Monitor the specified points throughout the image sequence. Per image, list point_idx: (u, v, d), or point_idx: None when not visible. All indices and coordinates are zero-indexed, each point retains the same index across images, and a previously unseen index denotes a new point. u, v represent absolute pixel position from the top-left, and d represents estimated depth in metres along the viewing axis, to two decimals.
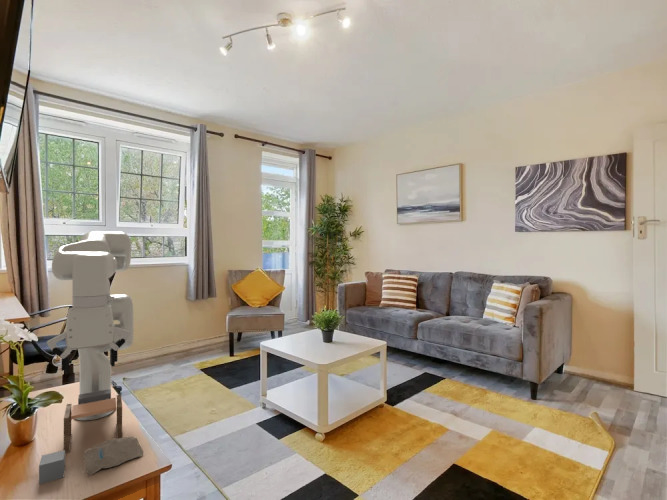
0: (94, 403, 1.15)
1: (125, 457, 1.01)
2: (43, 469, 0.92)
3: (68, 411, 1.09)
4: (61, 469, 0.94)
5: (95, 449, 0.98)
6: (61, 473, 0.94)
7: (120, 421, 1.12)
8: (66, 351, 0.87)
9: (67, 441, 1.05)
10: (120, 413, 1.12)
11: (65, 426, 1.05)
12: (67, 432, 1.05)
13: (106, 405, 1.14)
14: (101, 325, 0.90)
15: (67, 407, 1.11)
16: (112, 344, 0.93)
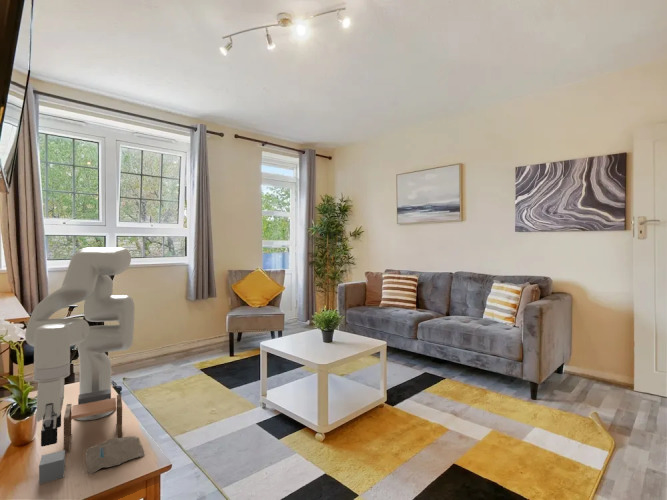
0: (94, 403, 1.15)
1: (126, 457, 1.02)
2: (43, 469, 0.92)
3: (68, 411, 1.09)
4: (61, 469, 0.94)
5: (96, 448, 0.99)
6: (61, 473, 0.94)
7: (120, 421, 1.12)
8: (56, 421, 0.91)
9: (67, 441, 1.05)
10: (120, 413, 1.12)
11: (65, 426, 1.05)
12: (67, 432, 1.05)
13: (106, 405, 1.14)
14: None
15: (67, 407, 1.11)
16: None
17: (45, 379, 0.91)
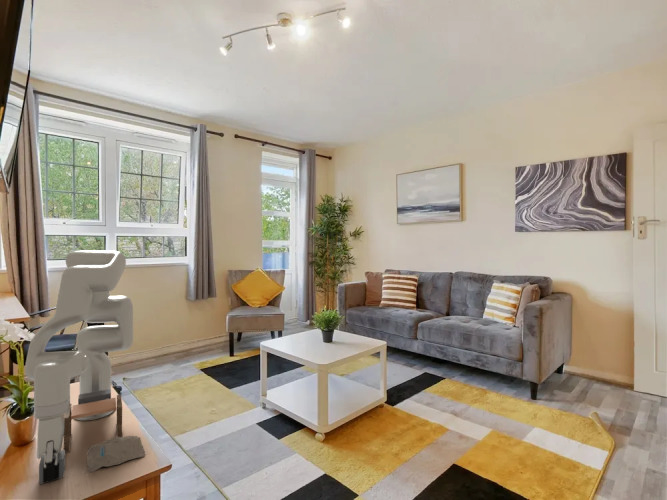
0: (94, 403, 1.15)
1: (126, 456, 1.02)
2: None
3: (68, 411, 1.09)
4: (61, 468, 0.94)
5: (98, 446, 1.00)
6: (61, 473, 0.94)
7: (120, 421, 1.12)
8: (57, 458, 0.93)
9: (67, 441, 1.05)
10: (120, 413, 1.12)
11: (65, 426, 1.05)
12: (67, 432, 1.05)
13: (106, 405, 1.14)
14: (64, 422, 0.98)
15: None
16: None
17: (45, 416, 0.91)
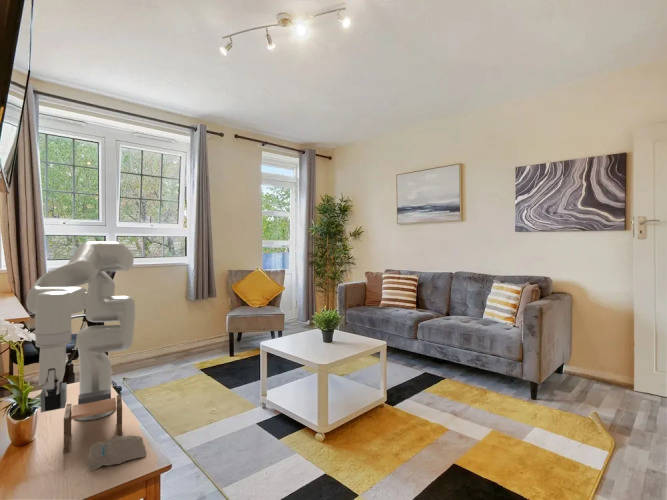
0: (94, 403, 1.15)
1: (127, 456, 1.02)
2: None
3: (68, 411, 1.09)
4: (62, 399, 0.94)
5: (99, 445, 1.00)
6: (63, 403, 0.94)
7: (120, 421, 1.12)
8: None
9: (67, 441, 1.05)
10: (120, 413, 1.12)
11: (65, 426, 1.05)
12: (67, 432, 1.05)
13: (106, 405, 1.14)
14: None
15: (67, 407, 1.11)
16: None
17: (47, 345, 0.91)
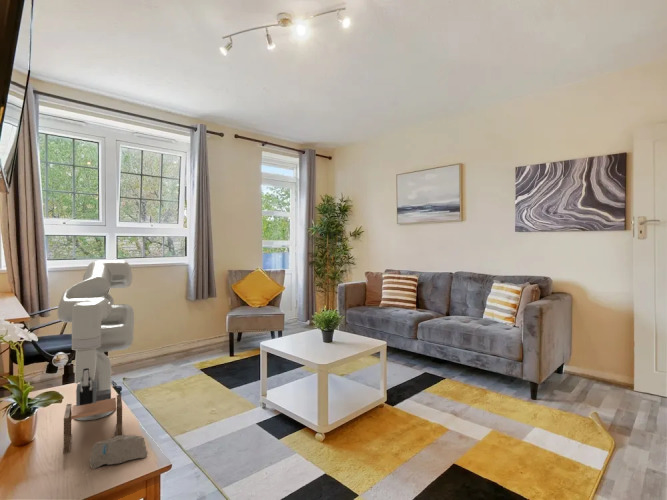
0: (94, 403, 1.15)
1: (128, 456, 1.02)
2: (79, 393, 1.07)
3: (68, 411, 1.09)
4: (94, 394, 1.09)
5: (101, 444, 1.01)
6: (94, 398, 1.10)
7: (120, 421, 1.12)
8: (91, 384, 1.08)
9: (67, 441, 1.05)
10: (120, 413, 1.12)
11: (65, 426, 1.05)
12: (67, 432, 1.05)
13: (106, 405, 1.14)
14: None
15: (67, 407, 1.11)
16: None
17: (82, 348, 1.06)
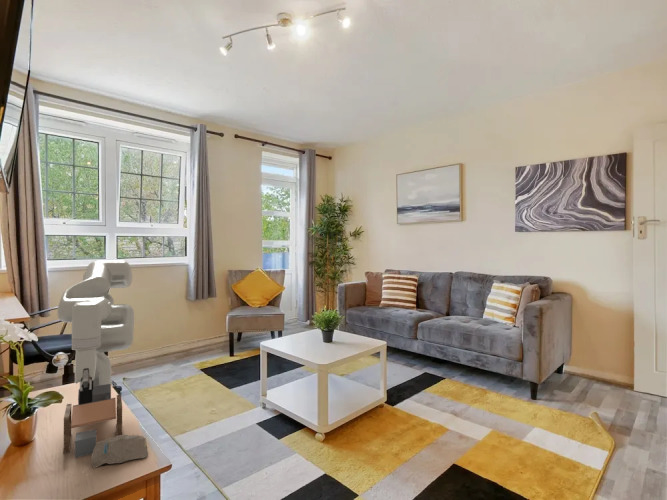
0: (94, 405, 1.15)
1: (128, 456, 1.02)
2: None
3: (68, 411, 1.09)
4: None
5: (103, 443, 1.02)
6: None
7: (120, 421, 1.12)
8: (91, 383, 1.07)
9: (67, 441, 1.05)
10: (120, 413, 1.12)
11: (65, 426, 1.05)
12: (67, 432, 1.05)
13: (106, 412, 1.14)
14: None
15: (67, 407, 1.11)
16: None
17: (82, 348, 1.06)
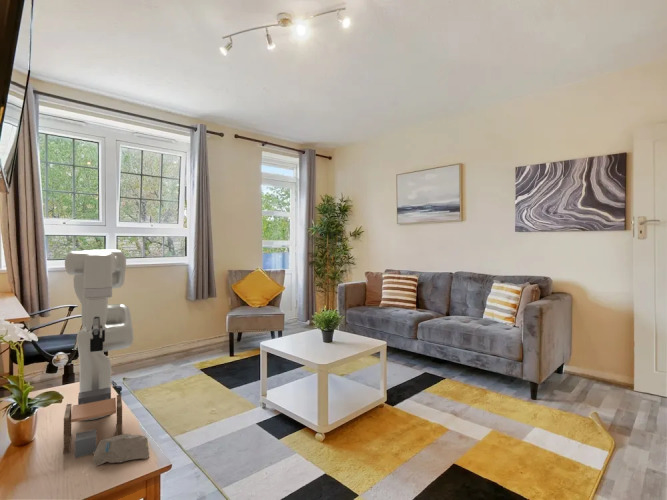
0: (94, 404, 1.15)
1: (130, 455, 1.02)
2: None
3: (68, 411, 1.09)
4: None
5: (106, 441, 1.02)
6: None
7: (120, 421, 1.12)
8: (101, 332, 1.09)
9: (67, 441, 1.05)
10: (120, 413, 1.12)
11: (65, 426, 1.05)
12: (67, 432, 1.05)
13: (106, 407, 1.14)
14: None
15: (67, 407, 1.11)
16: None
17: (93, 297, 1.08)
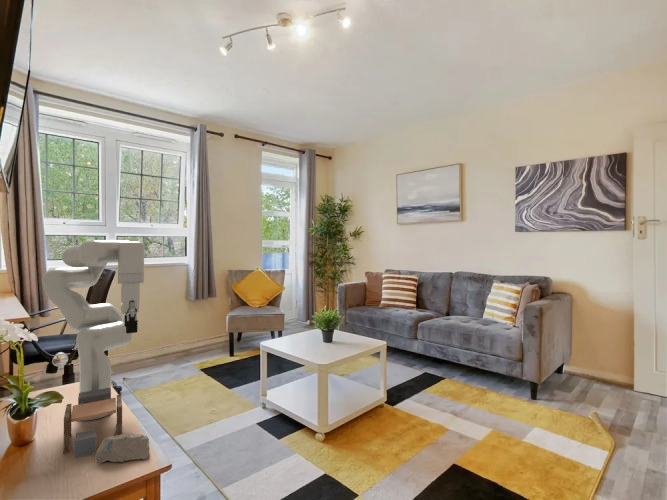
0: (94, 404, 1.15)
1: (130, 455, 1.02)
2: None
3: (68, 411, 1.09)
4: None
5: (108, 440, 1.03)
6: None
7: (120, 421, 1.12)
8: None
9: (67, 441, 1.05)
10: (120, 413, 1.12)
11: (65, 426, 1.05)
12: (67, 432, 1.05)
13: (106, 407, 1.14)
14: None
15: (67, 407, 1.11)
16: None
17: (128, 282, 1.15)
